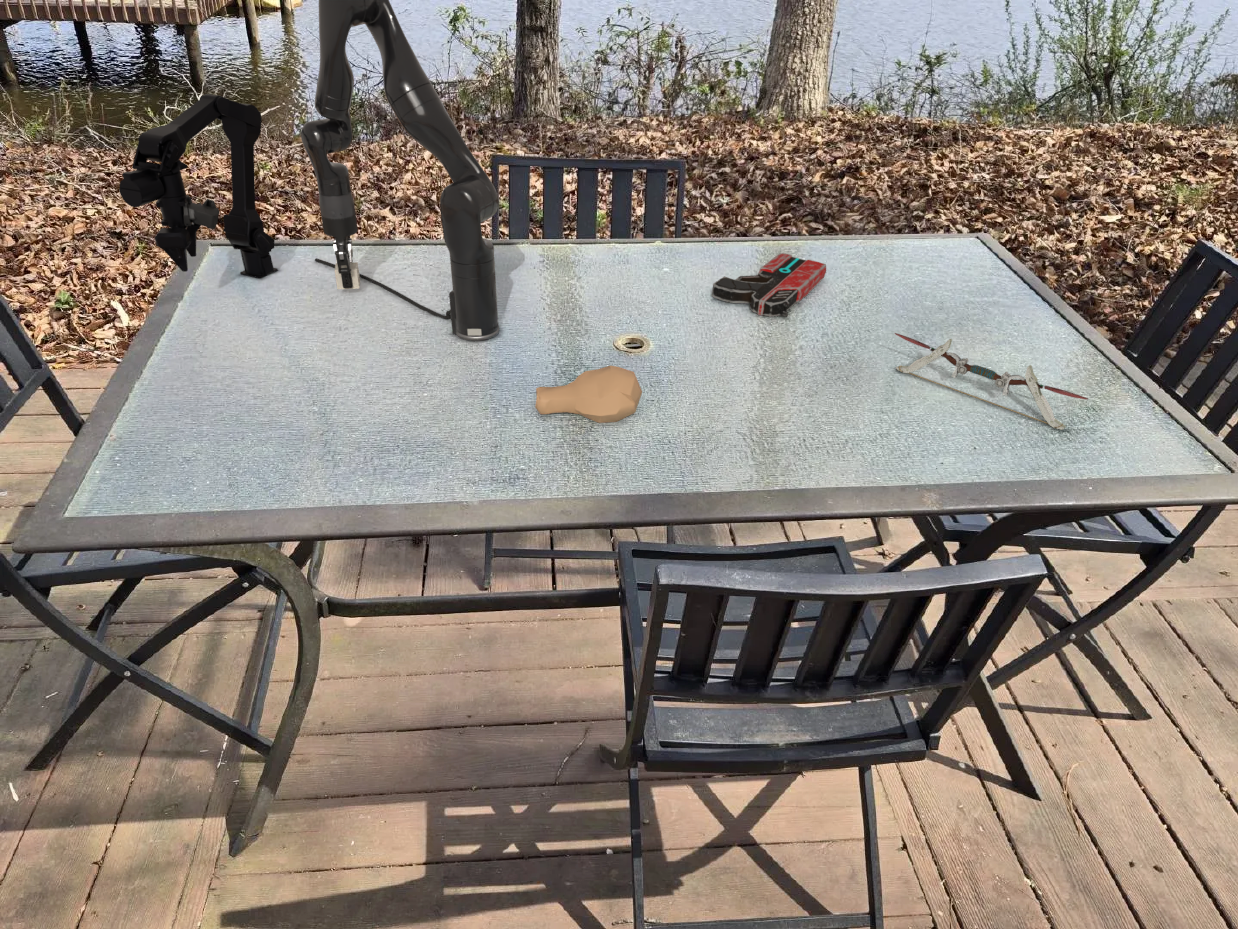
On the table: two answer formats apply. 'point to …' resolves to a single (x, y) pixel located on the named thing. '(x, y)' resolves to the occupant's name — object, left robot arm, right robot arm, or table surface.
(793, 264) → the gun
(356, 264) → the beige cube
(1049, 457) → the table surface
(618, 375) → the squash
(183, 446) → the table surface
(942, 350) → the bow
